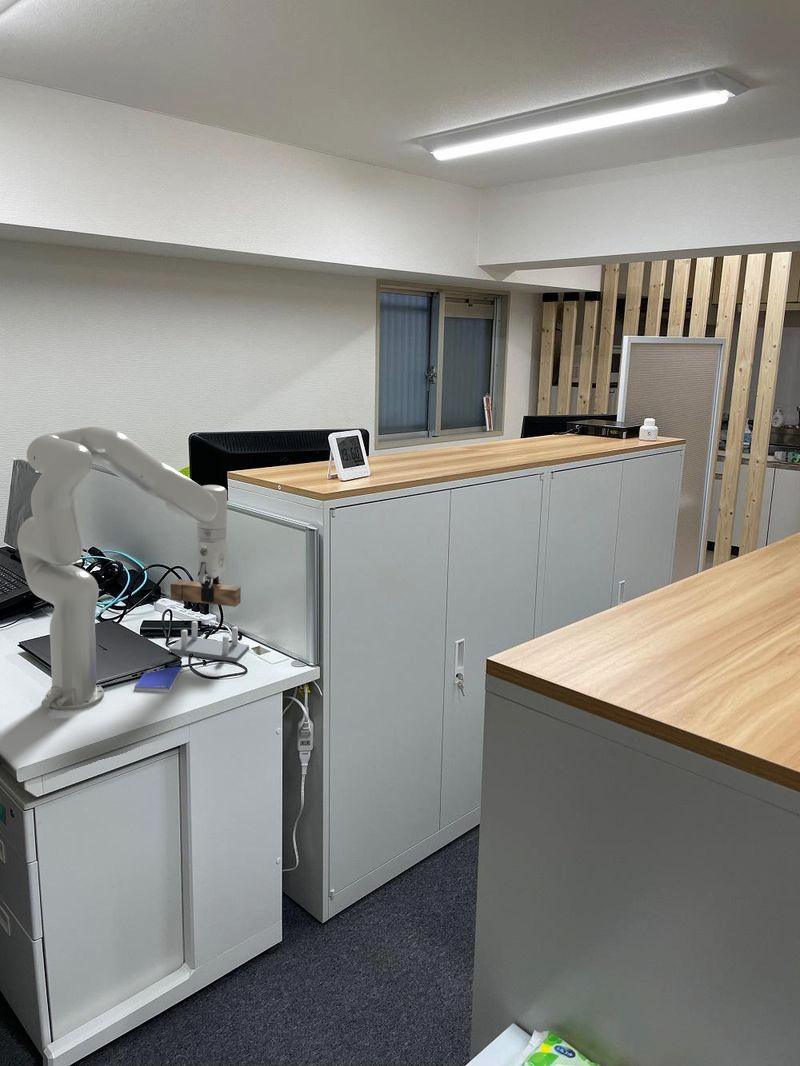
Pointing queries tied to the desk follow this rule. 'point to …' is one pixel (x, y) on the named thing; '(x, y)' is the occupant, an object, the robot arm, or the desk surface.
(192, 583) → the walnut brown wooden beam
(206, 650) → the peg rack
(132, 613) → the desk surface
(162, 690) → the hard drive
